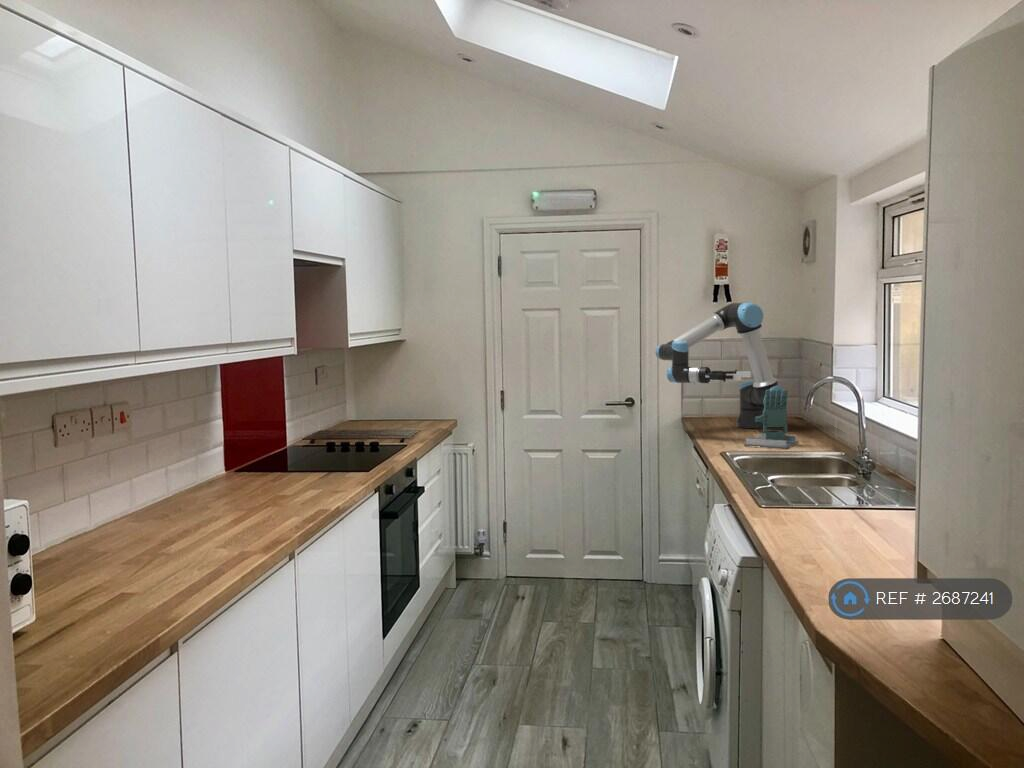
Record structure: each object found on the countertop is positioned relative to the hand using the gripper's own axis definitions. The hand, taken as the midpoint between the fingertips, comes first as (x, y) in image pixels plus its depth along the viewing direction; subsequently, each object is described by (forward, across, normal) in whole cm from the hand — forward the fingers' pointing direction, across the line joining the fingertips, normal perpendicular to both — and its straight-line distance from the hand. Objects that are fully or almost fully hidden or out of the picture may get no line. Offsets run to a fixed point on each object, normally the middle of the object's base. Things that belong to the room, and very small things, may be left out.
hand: (746, 375), depth 360 cm
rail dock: (+12, +2, -30) cm, 32 cm away
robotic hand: (+12, +2, -29) cm, 32 cm away
